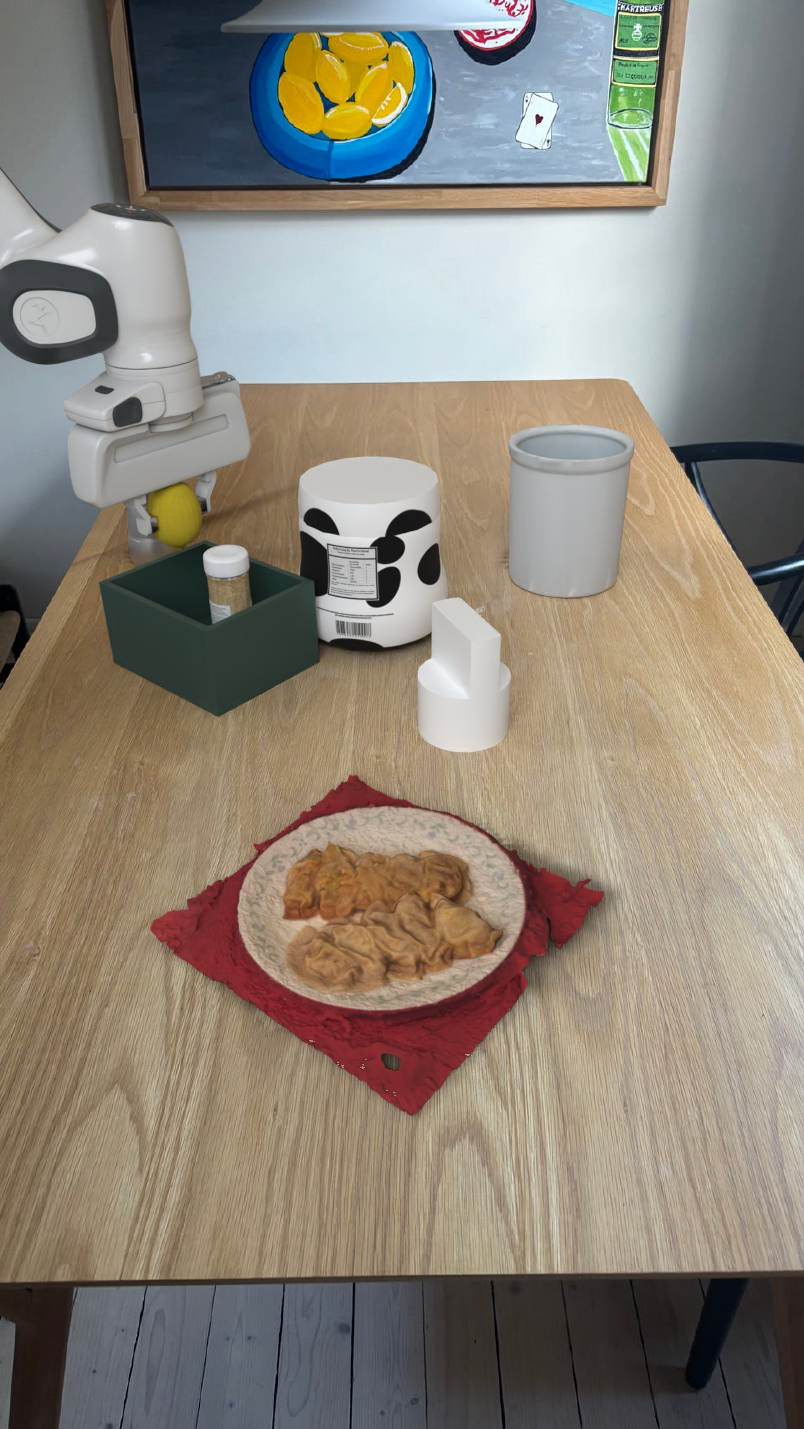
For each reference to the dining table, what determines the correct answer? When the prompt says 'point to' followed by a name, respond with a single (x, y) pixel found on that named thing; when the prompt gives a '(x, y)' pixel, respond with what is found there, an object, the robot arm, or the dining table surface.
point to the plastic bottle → (144, 542)
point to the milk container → (372, 550)
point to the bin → (210, 629)
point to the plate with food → (379, 934)
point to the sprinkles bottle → (227, 580)
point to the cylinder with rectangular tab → (463, 682)
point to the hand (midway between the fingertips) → (175, 522)
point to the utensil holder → (567, 508)
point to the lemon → (176, 515)
